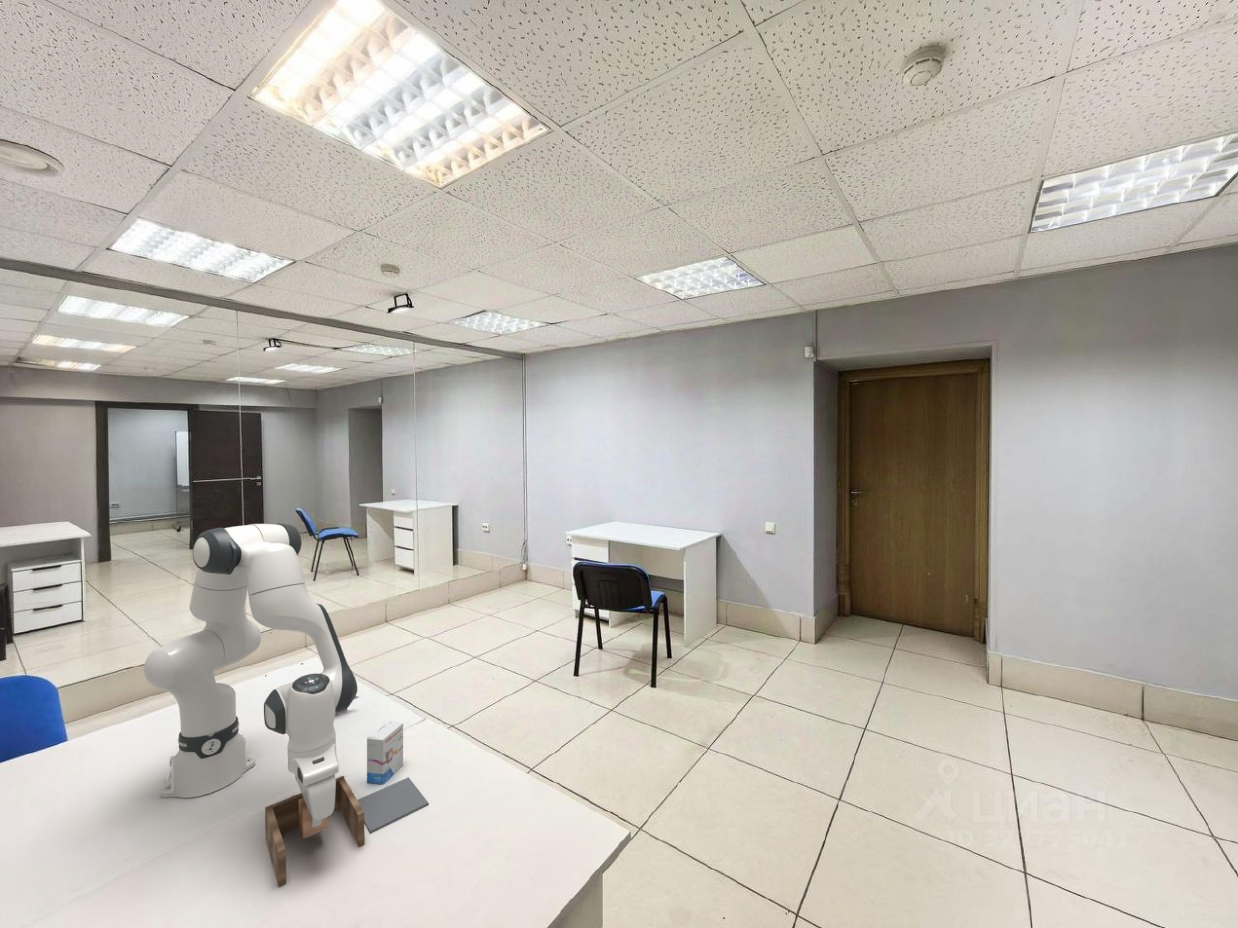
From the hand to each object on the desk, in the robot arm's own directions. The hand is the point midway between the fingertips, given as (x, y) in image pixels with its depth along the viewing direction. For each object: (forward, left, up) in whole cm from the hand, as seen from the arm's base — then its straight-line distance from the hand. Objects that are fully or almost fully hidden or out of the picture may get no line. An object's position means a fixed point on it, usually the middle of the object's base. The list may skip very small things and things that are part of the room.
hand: (313, 816), depth 107 cm
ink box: (-14, +19, -6) cm, 24 cm away
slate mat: (-1, +16, -6) cm, 17 cm away
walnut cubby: (0, 0, -6) cm, 6 cm away
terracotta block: (0, 0, -2) cm, 2 cm away
